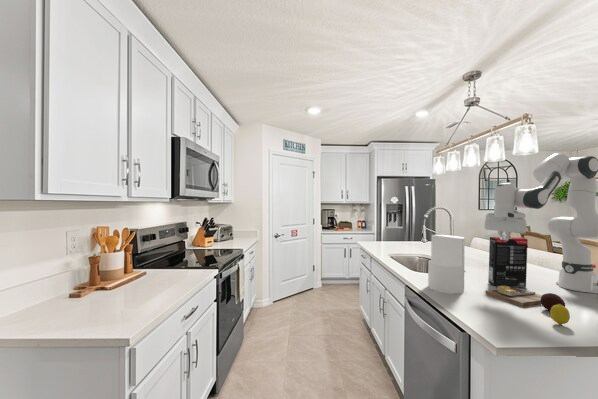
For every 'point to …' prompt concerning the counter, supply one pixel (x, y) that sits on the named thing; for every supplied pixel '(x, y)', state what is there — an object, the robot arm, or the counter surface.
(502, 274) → the graphics card box
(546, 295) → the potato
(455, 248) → the cylinder
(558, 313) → the lemon
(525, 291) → the bar
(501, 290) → the block
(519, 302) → the brown square board
